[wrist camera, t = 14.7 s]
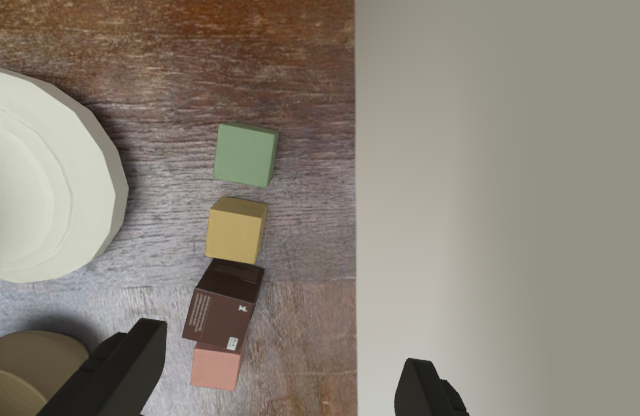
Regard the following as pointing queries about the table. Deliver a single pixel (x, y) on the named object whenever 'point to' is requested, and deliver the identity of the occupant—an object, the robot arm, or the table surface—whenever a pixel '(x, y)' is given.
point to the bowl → (35, 369)
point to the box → (223, 304)
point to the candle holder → (54, 182)
